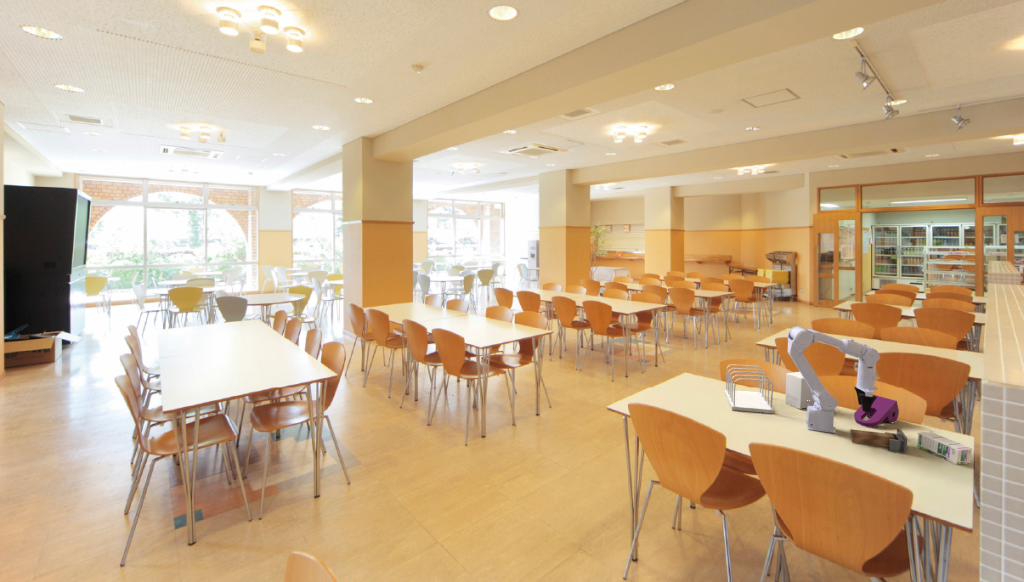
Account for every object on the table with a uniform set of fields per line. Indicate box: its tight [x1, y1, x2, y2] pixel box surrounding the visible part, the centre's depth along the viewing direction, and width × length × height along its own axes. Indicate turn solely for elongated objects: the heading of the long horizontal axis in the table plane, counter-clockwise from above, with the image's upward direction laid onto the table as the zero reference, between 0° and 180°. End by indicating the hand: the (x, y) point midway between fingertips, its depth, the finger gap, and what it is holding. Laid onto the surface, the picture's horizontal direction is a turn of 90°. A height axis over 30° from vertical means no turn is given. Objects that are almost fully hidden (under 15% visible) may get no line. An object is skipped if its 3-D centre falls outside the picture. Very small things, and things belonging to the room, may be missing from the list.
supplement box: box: [784, 371, 815, 410], centre depth 220 cm, size 9×9×15 cm
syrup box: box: [916, 431, 973, 465], centre depth 170 cm, size 6×6×14 cm
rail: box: [850, 428, 895, 448], centre depth 181 cm, size 13×3×4 cm, turn 63°
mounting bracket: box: [853, 394, 900, 428], centre depth 201 cm, size 10×8×18 cm
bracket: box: [884, 427, 909, 455], centre depth 177 cm, size 5×10×6 cm, turn 153°
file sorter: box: [723, 364, 775, 414], centre depth 225 cm, size 25×17×16 cm
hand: (863, 408), depth 191 cm, fingers open, 7 cm apart
